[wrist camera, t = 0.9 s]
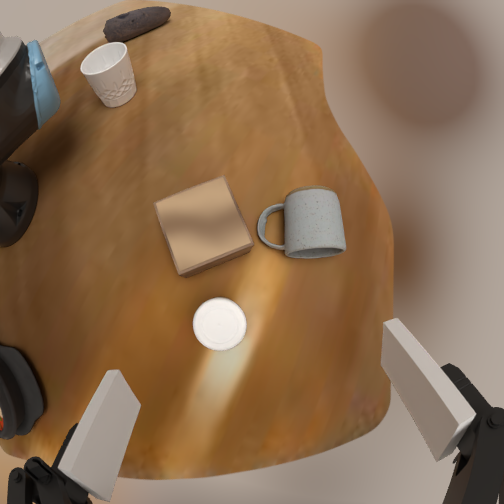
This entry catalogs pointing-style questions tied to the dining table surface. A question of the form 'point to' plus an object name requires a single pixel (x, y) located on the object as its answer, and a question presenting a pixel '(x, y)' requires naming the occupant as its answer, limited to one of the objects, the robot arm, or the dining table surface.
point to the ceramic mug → (309, 223)
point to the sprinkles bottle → (219, 324)
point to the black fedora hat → (17, 394)
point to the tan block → (203, 226)
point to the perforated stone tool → (135, 23)
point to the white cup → (110, 74)
